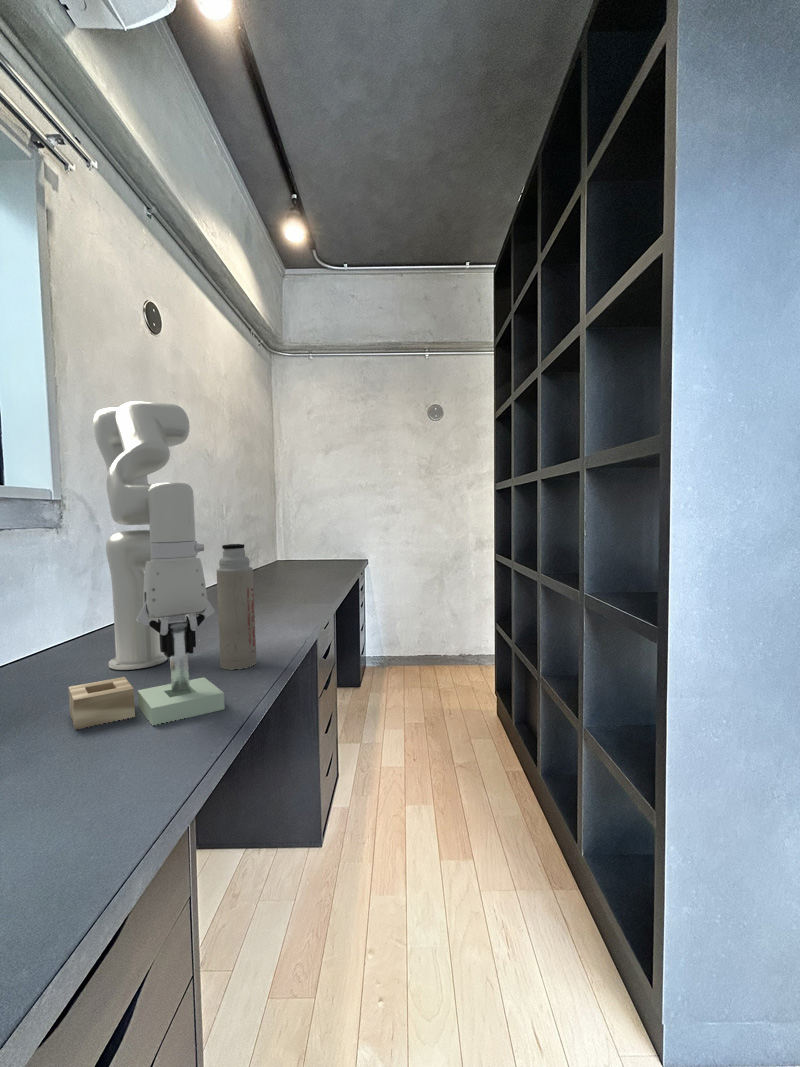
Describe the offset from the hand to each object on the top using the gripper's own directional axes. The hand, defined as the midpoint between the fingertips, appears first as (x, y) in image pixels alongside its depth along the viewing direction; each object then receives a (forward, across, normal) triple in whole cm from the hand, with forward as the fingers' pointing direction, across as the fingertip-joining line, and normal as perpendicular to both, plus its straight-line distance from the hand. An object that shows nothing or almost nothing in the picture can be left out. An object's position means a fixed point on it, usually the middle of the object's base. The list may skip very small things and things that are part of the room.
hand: (178, 652), depth 99 cm
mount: (+10, +12, -5) cm, 16 cm away
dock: (+10, 0, 0) cm, 10 cm away
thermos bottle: (+10, -18, -21) cm, 30 cm away
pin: (+7, 0, 0) cm, 7 cm away
